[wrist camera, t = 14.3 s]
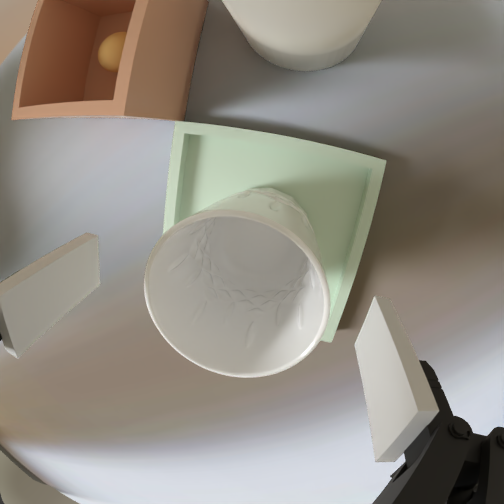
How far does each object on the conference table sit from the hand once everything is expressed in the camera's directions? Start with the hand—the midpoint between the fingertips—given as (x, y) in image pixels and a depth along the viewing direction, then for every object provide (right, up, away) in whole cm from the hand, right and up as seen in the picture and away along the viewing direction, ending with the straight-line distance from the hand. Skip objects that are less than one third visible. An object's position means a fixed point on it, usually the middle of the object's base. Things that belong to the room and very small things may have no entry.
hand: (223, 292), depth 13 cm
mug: (+5, +19, +2) cm, 20 cm away
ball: (-8, +16, +3) cm, 18 cm away
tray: (+2, +3, +9) cm, 10 cm away
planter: (-8, +17, +5) cm, 19 cm away
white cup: (+2, +3, +8) cm, 9 cm away
